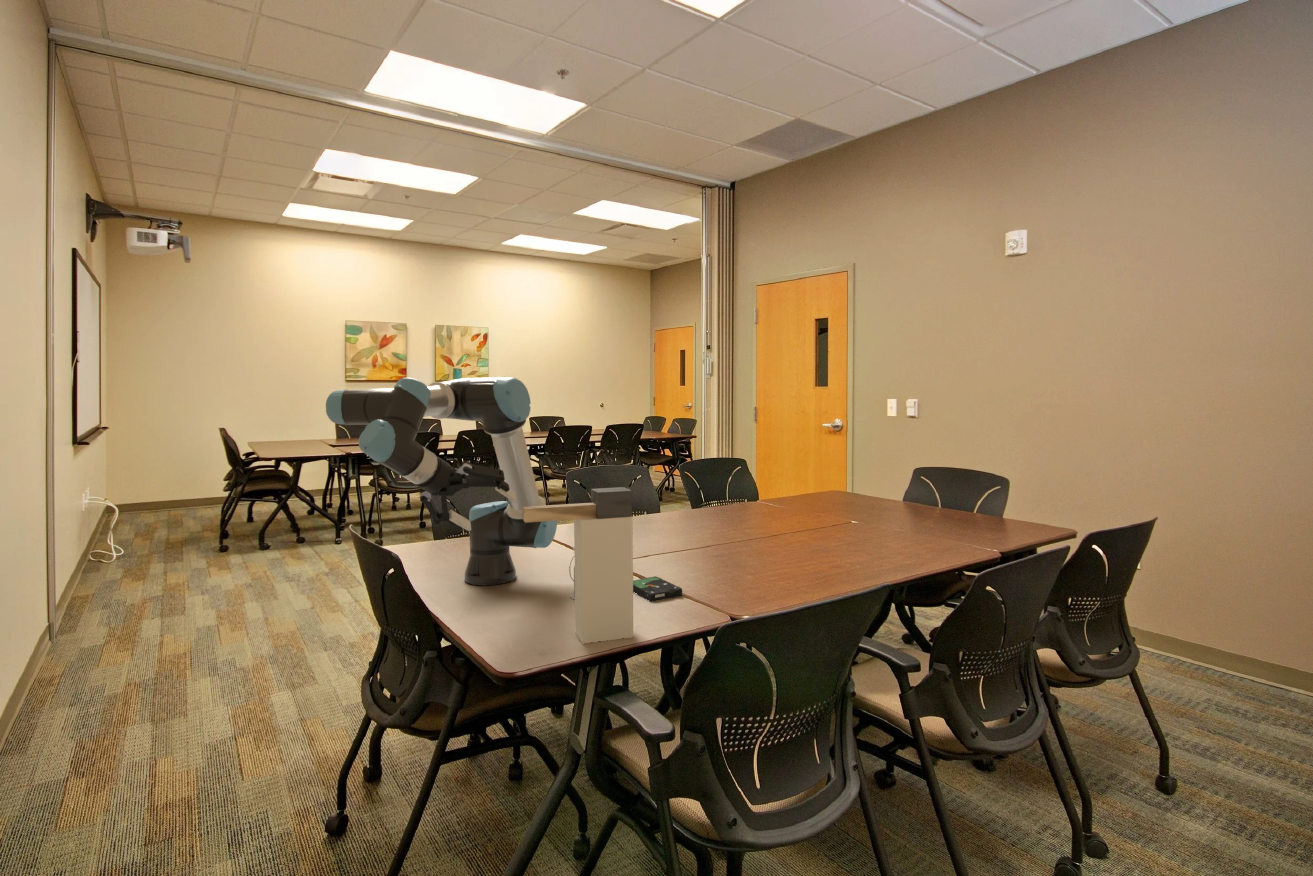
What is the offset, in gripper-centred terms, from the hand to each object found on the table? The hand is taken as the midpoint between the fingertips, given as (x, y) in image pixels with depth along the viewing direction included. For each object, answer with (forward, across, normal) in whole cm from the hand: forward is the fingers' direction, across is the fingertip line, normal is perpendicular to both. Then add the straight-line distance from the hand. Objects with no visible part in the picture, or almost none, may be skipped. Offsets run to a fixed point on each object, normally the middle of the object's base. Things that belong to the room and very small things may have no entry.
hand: (491, 511), depth 161 cm
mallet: (+6, +18, -11) cm, 22 cm away
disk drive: (+54, +11, -8) cm, 56 cm away
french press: (+42, -3, -6) cm, 43 cm away
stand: (+25, +8, -29) cm, 39 cm away
